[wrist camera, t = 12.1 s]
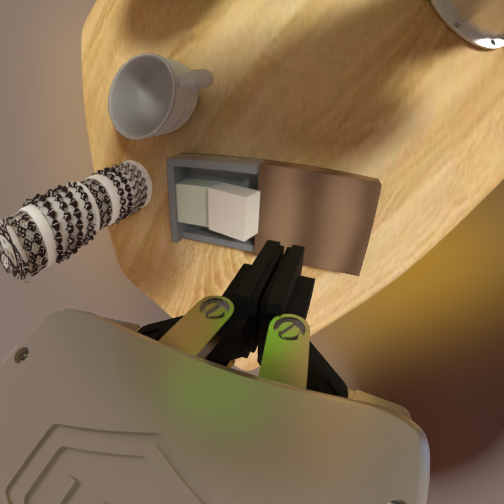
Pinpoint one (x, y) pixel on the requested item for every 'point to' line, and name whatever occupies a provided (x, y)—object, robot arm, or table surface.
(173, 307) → the table surface
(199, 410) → the robot arm
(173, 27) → the table surface
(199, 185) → the sage tile
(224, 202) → the white tile
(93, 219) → the decorative candle
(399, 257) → the table surface
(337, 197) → the walnut wavy ramp
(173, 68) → the teacup
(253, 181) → the box
